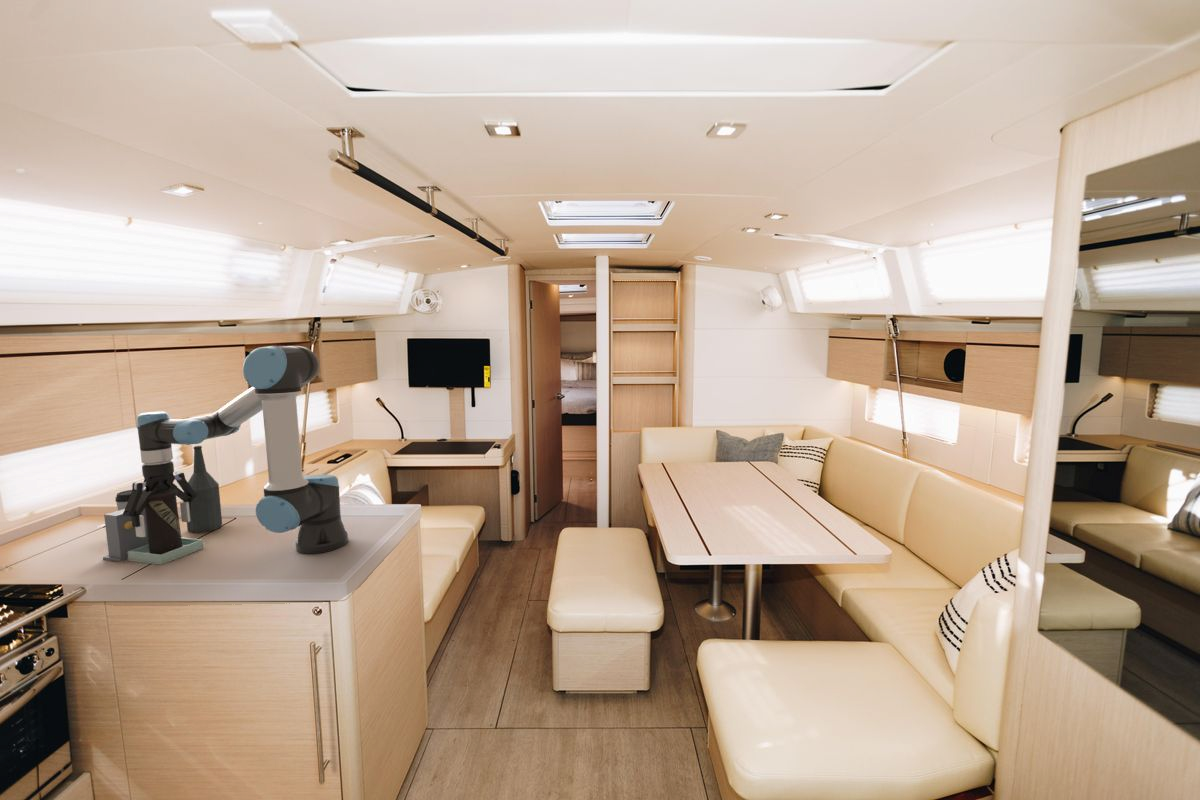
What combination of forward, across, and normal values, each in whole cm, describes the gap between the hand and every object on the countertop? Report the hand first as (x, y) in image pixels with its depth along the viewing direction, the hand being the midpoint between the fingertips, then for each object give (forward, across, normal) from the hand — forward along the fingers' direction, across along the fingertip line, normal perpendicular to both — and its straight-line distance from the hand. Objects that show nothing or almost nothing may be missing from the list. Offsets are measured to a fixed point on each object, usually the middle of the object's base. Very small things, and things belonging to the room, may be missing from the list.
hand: (164, 528), depth 168 cm
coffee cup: (+8, -11, -30) cm, 33 cm away
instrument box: (+8, +1, -12) cm, 14 cm away
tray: (+8, 0, 0) cm, 8 cm away
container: (+8, 0, 0) cm, 8 cm away
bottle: (+8, -21, -10) cm, 25 cm away
